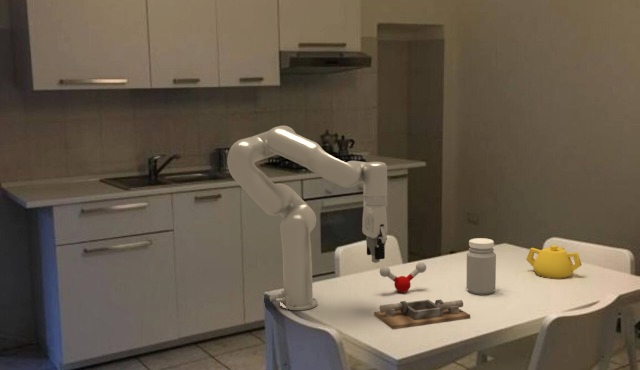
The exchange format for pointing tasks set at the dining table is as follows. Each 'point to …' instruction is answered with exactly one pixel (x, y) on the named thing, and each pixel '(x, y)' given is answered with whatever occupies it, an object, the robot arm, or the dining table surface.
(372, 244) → the light bulb
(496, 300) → the dining table surface
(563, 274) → the yellow sugar bowl
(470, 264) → the jar
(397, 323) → the shaft bench
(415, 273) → the molecular model
